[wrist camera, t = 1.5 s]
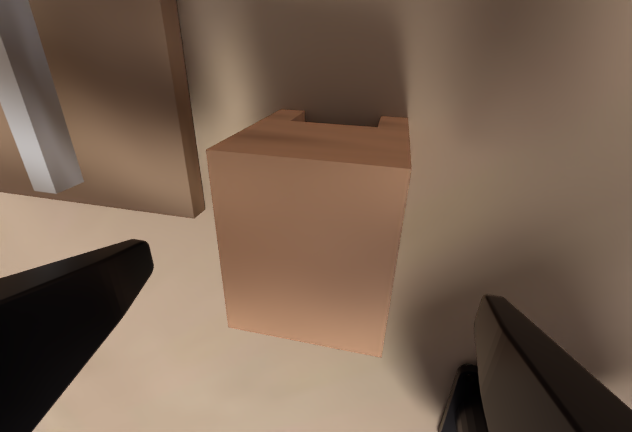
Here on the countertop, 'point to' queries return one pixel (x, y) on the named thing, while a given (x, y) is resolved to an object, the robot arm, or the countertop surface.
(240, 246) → the tan cube
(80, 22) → the board
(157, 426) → the countertop surface
